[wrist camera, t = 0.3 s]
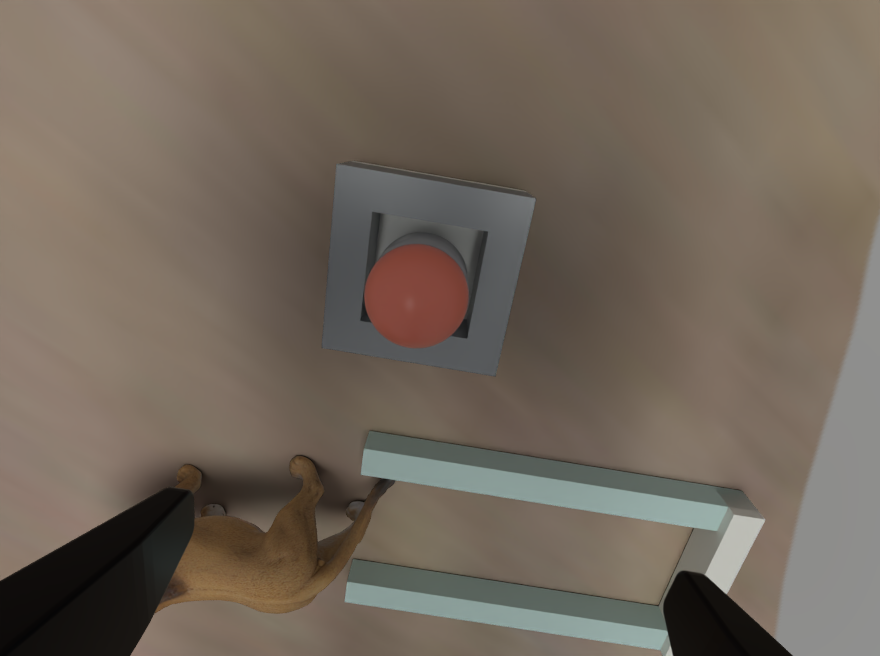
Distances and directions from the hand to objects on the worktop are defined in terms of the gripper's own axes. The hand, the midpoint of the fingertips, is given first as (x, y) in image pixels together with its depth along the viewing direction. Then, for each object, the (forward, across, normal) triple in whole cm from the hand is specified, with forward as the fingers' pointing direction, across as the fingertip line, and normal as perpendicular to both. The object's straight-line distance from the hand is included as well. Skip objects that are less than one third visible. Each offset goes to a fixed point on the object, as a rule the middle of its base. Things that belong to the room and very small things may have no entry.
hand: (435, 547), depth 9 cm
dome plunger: (+11, +1, -2) cm, 11 cm away
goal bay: (+13, -7, +12) cm, 19 cm away
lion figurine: (+14, +8, +13) cm, 20 cm away
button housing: (+14, +1, -2) cm, 14 cm away
